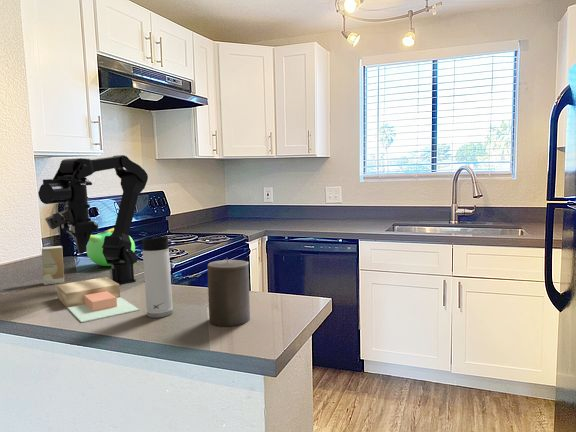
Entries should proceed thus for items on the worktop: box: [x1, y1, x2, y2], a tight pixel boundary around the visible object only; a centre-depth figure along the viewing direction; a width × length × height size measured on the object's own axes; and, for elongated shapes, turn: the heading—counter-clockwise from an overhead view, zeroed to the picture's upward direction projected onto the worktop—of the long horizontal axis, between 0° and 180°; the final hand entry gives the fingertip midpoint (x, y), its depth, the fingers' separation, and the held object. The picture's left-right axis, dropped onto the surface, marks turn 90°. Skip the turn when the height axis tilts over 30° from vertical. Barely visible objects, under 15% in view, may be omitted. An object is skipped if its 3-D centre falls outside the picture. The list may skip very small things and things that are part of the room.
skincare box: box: [41, 245, 65, 286], centre depth 150 cm, size 6×4×12 cm
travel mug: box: [141, 235, 174, 319], centre depth 111 cm, size 6×7×20 cm
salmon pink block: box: [84, 291, 117, 311], centre depth 120 cm, size 6×9×2 cm, turn 38°
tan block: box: [56, 276, 121, 309], centre depth 129 cm, size 14×13×4 cm
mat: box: [67, 296, 140, 324], centre depth 118 cm, size 14×16×1 cm
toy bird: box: [85, 227, 136, 267], centre depth 175 cm, size 18×17×15 cm
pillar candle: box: [207, 257, 251, 328], centre depth 105 cm, size 10×10×15 cm
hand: (81, 253), depth 132 cm, fingers closed
